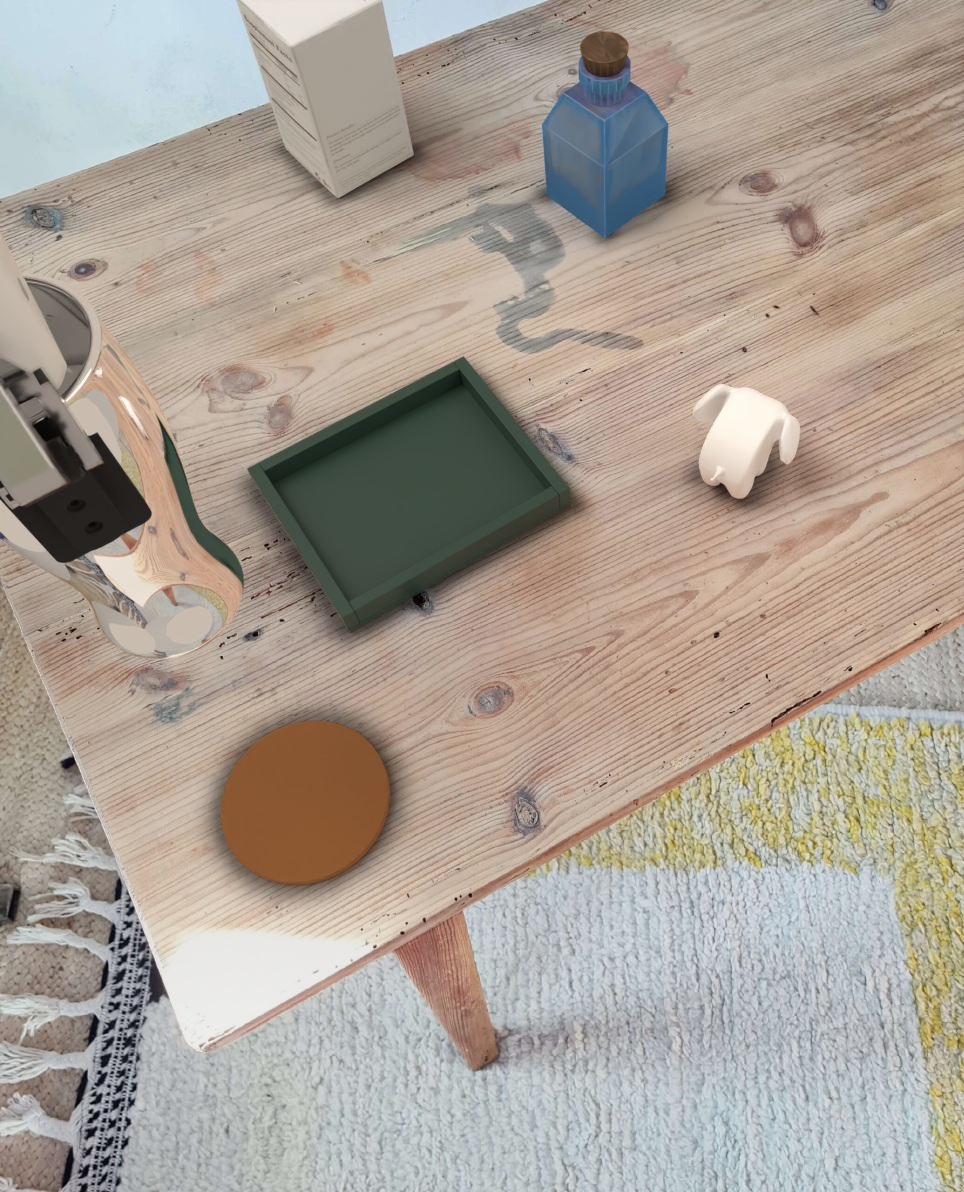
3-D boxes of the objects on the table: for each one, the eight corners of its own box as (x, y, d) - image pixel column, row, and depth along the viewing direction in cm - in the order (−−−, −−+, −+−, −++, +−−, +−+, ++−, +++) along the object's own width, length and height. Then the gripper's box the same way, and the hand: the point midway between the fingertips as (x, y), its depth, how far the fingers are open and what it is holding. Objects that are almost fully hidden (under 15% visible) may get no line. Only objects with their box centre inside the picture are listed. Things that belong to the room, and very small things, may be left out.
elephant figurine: (814, 448, 69) (830, 388, 64) (754, 539, 66) (766, 484, 60) (721, 403, 71) (730, 342, 65) (659, 490, 67) (663, 433, 62)
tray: (349, 633, 63) (342, 618, 61) (256, 486, 68) (246, 468, 66) (571, 506, 67) (570, 488, 65) (467, 375, 72) (463, 355, 70)
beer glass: (164, 498, 47) (-12, 236, 34) (289, 568, 45) (156, 320, 32) (51, 621, 44) (-189, 388, 31) (180, 700, 43) (-15, 488, 29)
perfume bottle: (664, 195, 80) (672, 46, 69) (605, 238, 78) (603, 91, 67) (606, 154, 82) (605, 4, 71) (546, 195, 80) (536, 47, 69)
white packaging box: (362, 108, 85) (324, -53, 74) (416, 157, 82) (385, -2, 71) (282, 150, 83) (230, -9, 71) (335, 202, 80) (290, 45, 69)
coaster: (268, 919, 55) (265, 917, 55) (196, 781, 59) (192, 777, 58) (420, 823, 58) (418, 819, 57) (342, 695, 61) (339, 691, 61)
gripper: (-644, -232, 23) (-130, 341, 38) (-509, 264, 16) (49, 713, 32) (-277, -333, 25) (69, 251, 40) (-16, 70, 18) (279, 584, 33)
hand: (58, 452), depth 36 cm, fingers closed on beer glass, 7 cm apart
